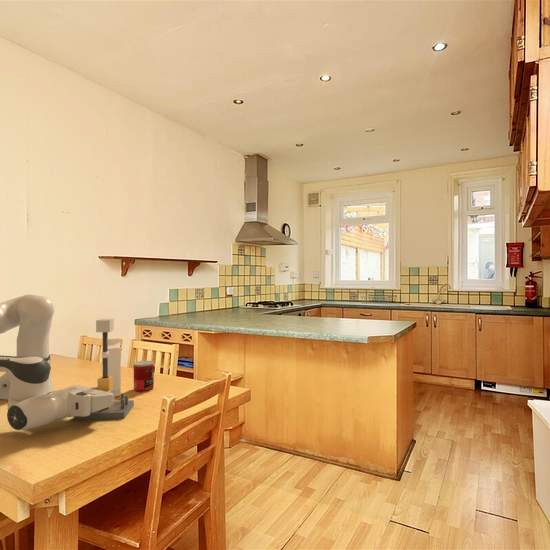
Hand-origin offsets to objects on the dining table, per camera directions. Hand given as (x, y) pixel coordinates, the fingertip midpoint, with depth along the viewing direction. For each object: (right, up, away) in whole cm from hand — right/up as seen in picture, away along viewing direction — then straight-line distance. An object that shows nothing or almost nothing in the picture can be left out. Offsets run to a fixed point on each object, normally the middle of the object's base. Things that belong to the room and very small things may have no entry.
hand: (107, 390), depth 134 cm
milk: (-7, -8, +19) cm, 21 cm away
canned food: (+4, -8, +26) cm, 27 cm away
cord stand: (0, -8, -1) cm, 8 cm away
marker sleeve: (0, -6, -1) cm, 6 cm away
